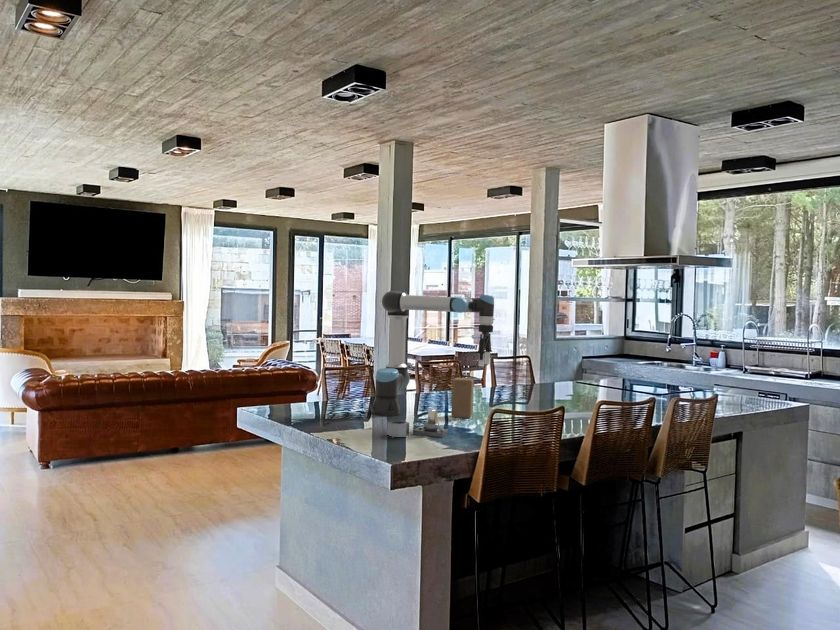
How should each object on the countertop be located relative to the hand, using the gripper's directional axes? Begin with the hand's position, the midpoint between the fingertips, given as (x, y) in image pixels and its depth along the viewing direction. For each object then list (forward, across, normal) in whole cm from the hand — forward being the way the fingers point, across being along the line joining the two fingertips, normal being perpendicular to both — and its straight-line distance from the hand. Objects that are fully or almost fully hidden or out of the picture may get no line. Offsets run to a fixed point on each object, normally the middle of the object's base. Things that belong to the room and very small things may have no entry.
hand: (484, 365), depth 368 cm
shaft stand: (+28, -54, +11) cm, 61 cm away
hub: (+28, -64, +23) cm, 74 cm away
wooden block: (+28, +1, +11) cm, 30 cm away
